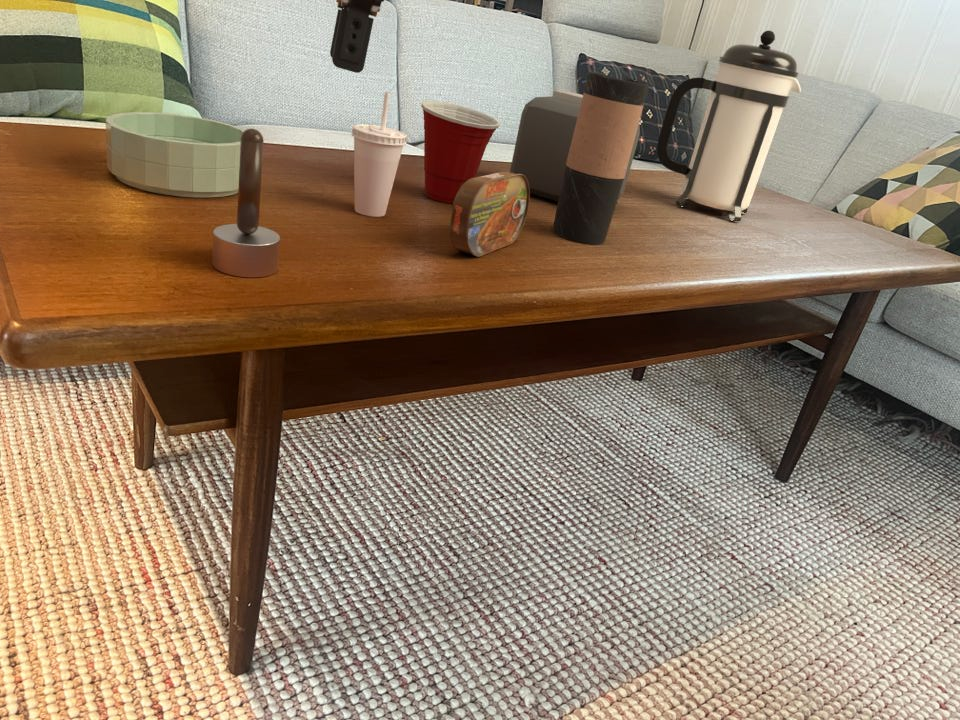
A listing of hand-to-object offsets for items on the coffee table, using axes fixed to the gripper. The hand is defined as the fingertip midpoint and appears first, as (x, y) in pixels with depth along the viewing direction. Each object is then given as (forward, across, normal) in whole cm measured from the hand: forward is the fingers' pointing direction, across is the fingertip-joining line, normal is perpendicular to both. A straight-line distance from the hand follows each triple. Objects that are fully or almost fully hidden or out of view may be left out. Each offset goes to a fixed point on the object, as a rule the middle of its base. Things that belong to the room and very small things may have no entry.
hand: (344, 65), depth 55 cm
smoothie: (+17, -28, +8) cm, 34 cm away
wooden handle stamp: (+19, -5, -5) cm, 20 cm away
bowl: (+19, -31, -14) cm, 39 cm away
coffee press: (+10, -59, +69) cm, 91 cm away
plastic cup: (+15, -40, +19) cm, 47 cm away
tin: (+16, -20, +20) cm, 32 cm away
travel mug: (+14, -30, +35) cm, 48 cm away
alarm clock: (+13, -51, +39) cm, 65 cm away
